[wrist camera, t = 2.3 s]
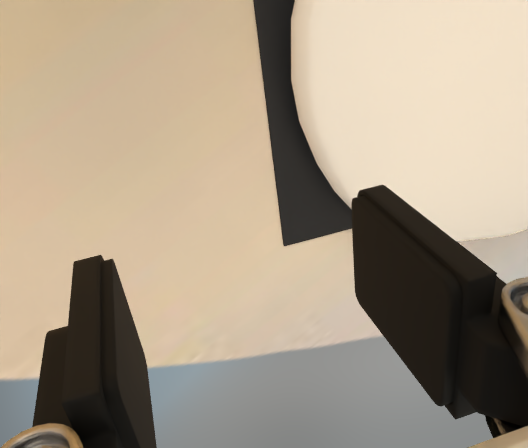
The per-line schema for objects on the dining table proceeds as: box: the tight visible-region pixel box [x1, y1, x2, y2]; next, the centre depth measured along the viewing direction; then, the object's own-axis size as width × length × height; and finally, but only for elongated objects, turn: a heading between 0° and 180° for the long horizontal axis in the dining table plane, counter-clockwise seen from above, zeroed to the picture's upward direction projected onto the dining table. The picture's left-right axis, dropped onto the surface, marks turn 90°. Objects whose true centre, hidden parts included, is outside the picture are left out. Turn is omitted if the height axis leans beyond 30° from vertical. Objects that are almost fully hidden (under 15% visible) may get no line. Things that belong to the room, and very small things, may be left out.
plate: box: [291, 0, 528, 242], centre depth 29 cm, size 28×6×27 cm
